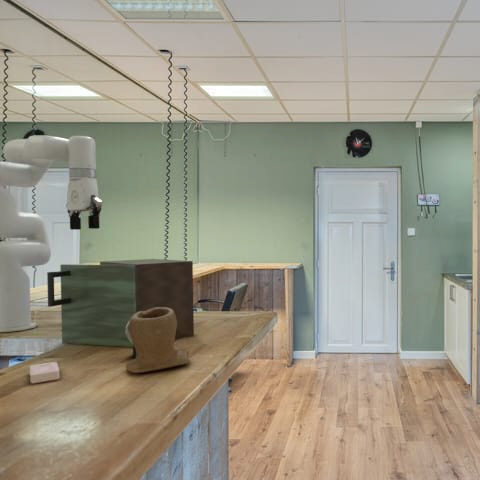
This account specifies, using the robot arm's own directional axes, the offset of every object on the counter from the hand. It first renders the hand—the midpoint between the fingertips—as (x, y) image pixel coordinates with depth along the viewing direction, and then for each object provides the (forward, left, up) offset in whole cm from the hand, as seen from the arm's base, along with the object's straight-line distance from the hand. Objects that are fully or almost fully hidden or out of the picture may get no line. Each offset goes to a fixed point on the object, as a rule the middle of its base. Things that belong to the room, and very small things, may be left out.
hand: (84, 229), depth 147 cm
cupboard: (+17, +6, -35) cm, 40 cm away
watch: (+32, -18, -35) cm, 51 cm away
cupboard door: (+10, -11, -35) cm, 38 cm away
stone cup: (+44, -28, -35) cm, 63 cm away
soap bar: (+21, -38, -35) cm, 56 cm away
